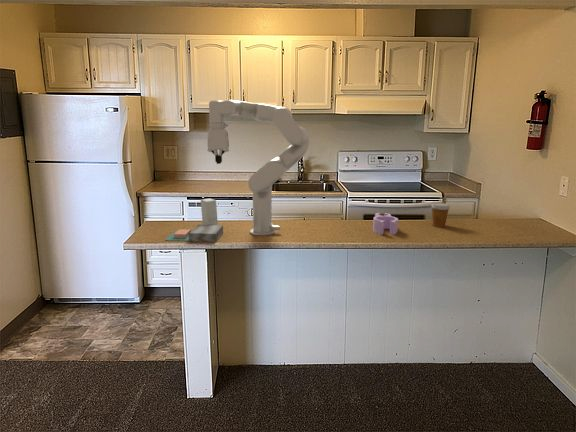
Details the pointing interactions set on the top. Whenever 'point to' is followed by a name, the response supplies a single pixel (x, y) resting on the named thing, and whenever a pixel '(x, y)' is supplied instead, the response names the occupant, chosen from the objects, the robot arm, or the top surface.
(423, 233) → the top surface
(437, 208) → the disposable coffee cup
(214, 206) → the skincare box
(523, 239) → the top surface
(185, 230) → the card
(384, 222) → the clip
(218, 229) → the grey flat block
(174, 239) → the mat
